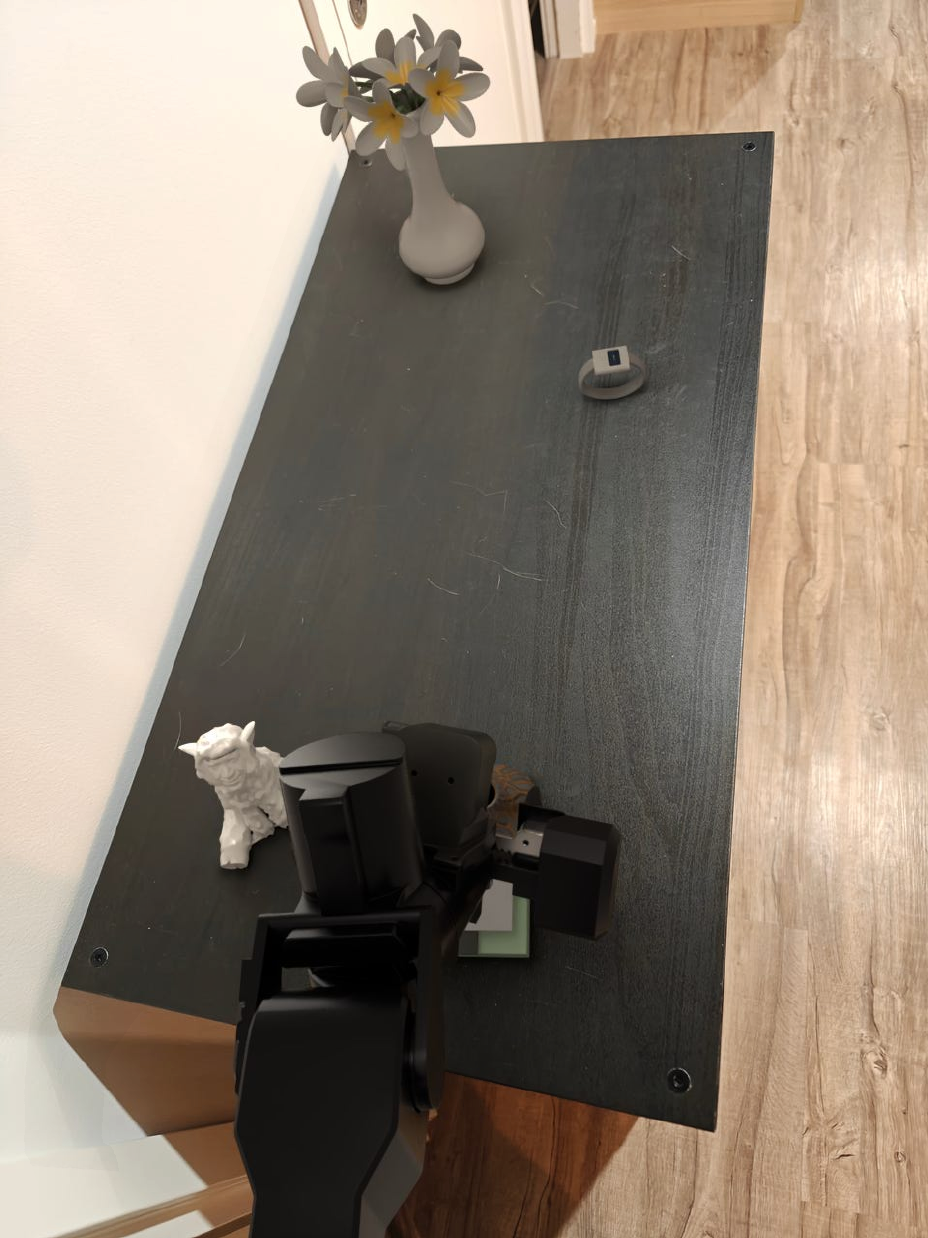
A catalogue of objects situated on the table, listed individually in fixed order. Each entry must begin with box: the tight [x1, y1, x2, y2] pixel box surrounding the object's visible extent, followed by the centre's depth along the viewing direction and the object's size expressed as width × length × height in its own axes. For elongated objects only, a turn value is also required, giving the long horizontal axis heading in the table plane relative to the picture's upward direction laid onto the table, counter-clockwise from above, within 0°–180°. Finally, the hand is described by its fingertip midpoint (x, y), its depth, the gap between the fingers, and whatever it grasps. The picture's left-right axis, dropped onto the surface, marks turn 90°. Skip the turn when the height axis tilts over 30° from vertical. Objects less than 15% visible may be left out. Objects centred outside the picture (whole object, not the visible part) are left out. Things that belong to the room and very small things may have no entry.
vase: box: [486, 763, 545, 836], centre depth 62 cm, size 7×7×9 cm
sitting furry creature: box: [177, 720, 289, 870], centre depth 72 cm, size 10×9×12 cm
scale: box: [458, 776, 531, 959], centre depth 71 cm, size 13×13×2 cm
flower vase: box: [295, 13, 491, 286], centre depth 92 cm, size 13×18×25 cm
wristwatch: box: [577, 345, 647, 400], centre depth 88 cm, size 6×3×5 cm, turn 92°
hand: (491, 784), depth 61 cm, fingers closed on vase, 5 cm apart
